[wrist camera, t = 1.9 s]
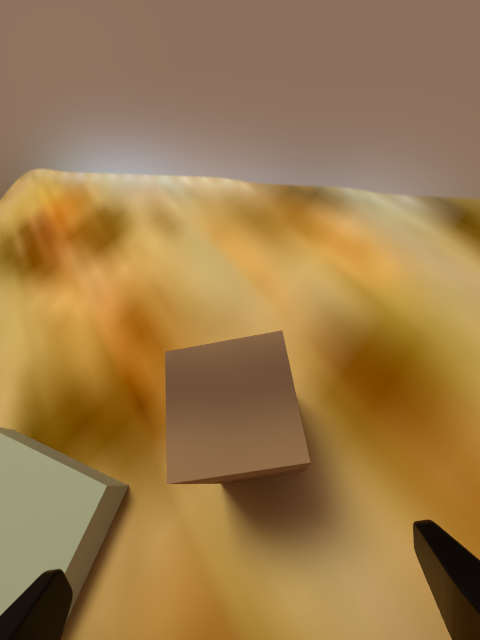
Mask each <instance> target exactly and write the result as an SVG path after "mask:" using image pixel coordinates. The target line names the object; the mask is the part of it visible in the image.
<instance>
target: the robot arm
mask: <svg viewBox="0 0 480 640" xmlns="http://www.w3.org/2000/svg"><path fill="white" fill-rule="evenodd" d="M413 536H414V549H415V553H416V556H417V558H418V561H419V563H420V565H421V568H422V570H423V572H424V575H425V577H426V580H427V582H428V584H429V587H430V589H431V591H432V594H433V596H434V599H435V601H436V603H437V606H438V608H439V610H440V613H441V615H442V618H443V620H444V622H445V625H446V627H447V629H448V632H449V634H450V636H451V638H452V640H480V560H479V559H478V558H477V557H475V556H474V555H473V554H472V553H471V552H469V551H468V550H467V549H466V548H465V547H463V546H462V545H461V544H460V543H459V542H457V541H456V540H455V539H454V538H453V537H452V536H450V535H449V534H448V533H447V532H446V531H444V530H443V529H442V528H441V527H440V526H438V525H437V524H436V523H435V522H433V521H431V520H421V521H415V522H414V523H413ZM72 598H73V590H72V587H71V585H70V583H69V581H68V579H67V577H66V576H65V574H64V572H63V570H61V569H54V570H47V571H45V572H43V573H42V574H41V575H40V576H39V577H38V578H37V579H36V580H35V581H34V582H33V583H32V584H31V585H30V586H29V587H28V588H27V589H26V590H25V591H24V592H23V593H22V594H21V595H20V596H19V597H18V598H17V599H16V600H15V601H14V602H13V603H12V604H11V605H10V606H9V607H8V608H7V609H6V610H5V611H4V612H3V613H2V614H1V615H0V640H61V638H62V634H63V631H64V627H65V624H66V620H67V617H68V613H69V610H70V606H71V603H72Z"/></svg>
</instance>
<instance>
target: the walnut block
mask: <svg viewBox="0 0 480 640" xmlns="http://www.w3.org/2000/svg"><path fill="white" fill-rule="evenodd" d="M165 365H166V441H167V484H221V483H227V482H234V481H241V480H248V479H254V478H261V477H268V476H275V475H282V474H288V473H295V472H302V471H304V470H305V469H306V468H307V466H308V465H309V464H310V463H311V462H310V457H309V453H308V448H307V443H306V439H305V434H304V430H303V425H302V420H301V416H300V411H299V406H298V402H297V397H296V392H295V388H294V383H293V379H292V374H291V369H290V365H289V360H288V355H287V351H286V346H285V341H284V337H283V332H282V331H277V332H271V333H266V334H260V335H255V336H249V337H244V338H238V339H233V340H227V341H222V342H216V343H211V344H205V345H200V346H194V347H189V348H184V349H178V350H173V351H167V352H165Z"/></svg>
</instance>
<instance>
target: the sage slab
mask: <svg viewBox="0 0 480 640" xmlns="http://www.w3.org/2000/svg"><path fill="white" fill-rule="evenodd" d="M128 486H129V485H127V484H124V483H122V482H120V481H118V480H116V479H114V478H112V477H110V476H108V475H106V474H104V473H102V472H100V471H98V470H95V469H93V468H91V467H89V466H87V465H85V464H83V463H81V462H79V461H77V460H75V459H73V458H71V457H69V456H66V455H64V454H62V453H60V452H58V451H56V450H54V449H52V448H50V447H48V446H46V445H44V444H42V443H40V442H37V441H35V440H33V439H31V438H29V437H27V436H25V435H23V434H21V433H19V432H17V431H15V430H11V429H5V428H0V615H1V614H2V613H3V612H4V611H5V610H6V609H7V608H8V607H9V606H10V605H11V604H12V603H13V602H14V601H15V600H16V599H17V598H18V597H19V596H20V595H21V594H22V593H23V592H24V591H25V590H26V589H27V588H28V587H29V586H30V585H31V584H32V583H33V582H34V581H35V580H36V579H37V578H38V577H39V576H40V575H41V574H42V573H43V572H45V571H47V570H54V569H61V570H63V572H64V574H65V576H66V577H67V579H68V581H69V583H70V585H71V587H72V590H73V598H72V603H71V606H70V610H69V613H68V617H67V620H68V618H69V615H70V613H71V611H72V609H73V607H74V604H75V602H76V600H77V598H78V596H79V593H80V591H81V589H82V587H83V585H84V583H85V580H86V578H87V576H88V574H89V572H90V569H91V567H92V565H93V563H94V561H95V558H96V556H97V554H98V552H99V550H100V547H101V545H102V543H103V541H104V539H105V536H106V534H107V532H108V530H109V528H110V526H111V523H112V521H113V519H114V517H115V515H116V512H117V510H118V508H119V506H120V504H121V501H122V499H123V497H124V495H125V493H126V490H127V488H128ZM67 620H66V622H67Z"/></svg>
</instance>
